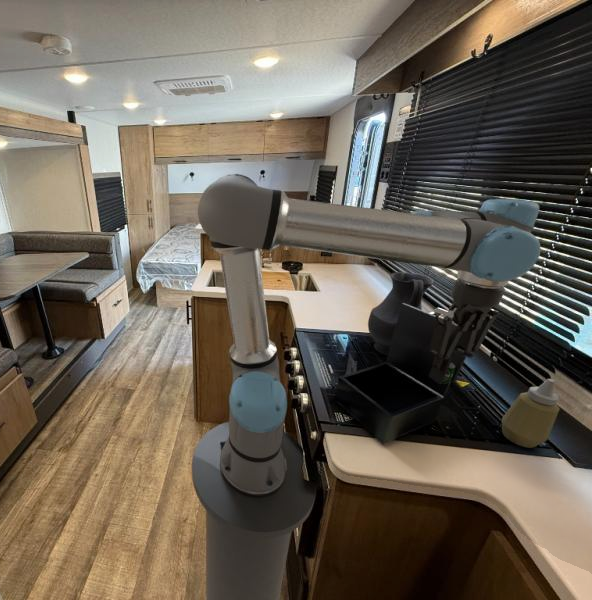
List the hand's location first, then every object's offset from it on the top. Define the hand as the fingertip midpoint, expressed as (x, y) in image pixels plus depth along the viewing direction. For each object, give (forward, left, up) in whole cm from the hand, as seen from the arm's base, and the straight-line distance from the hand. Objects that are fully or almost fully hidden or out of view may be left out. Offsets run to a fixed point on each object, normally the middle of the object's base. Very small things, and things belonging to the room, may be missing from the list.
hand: (441, 378), depth 70 cm
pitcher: (-1, +40, -18) cm, 44 cm away
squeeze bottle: (+22, +8, -18) cm, 30 cm away
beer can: (0, 0, -1) cm, 1 cm away
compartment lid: (-1, +12, +1) cm, 12 cm away
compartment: (-8, +6, -18) cm, 21 cm away
